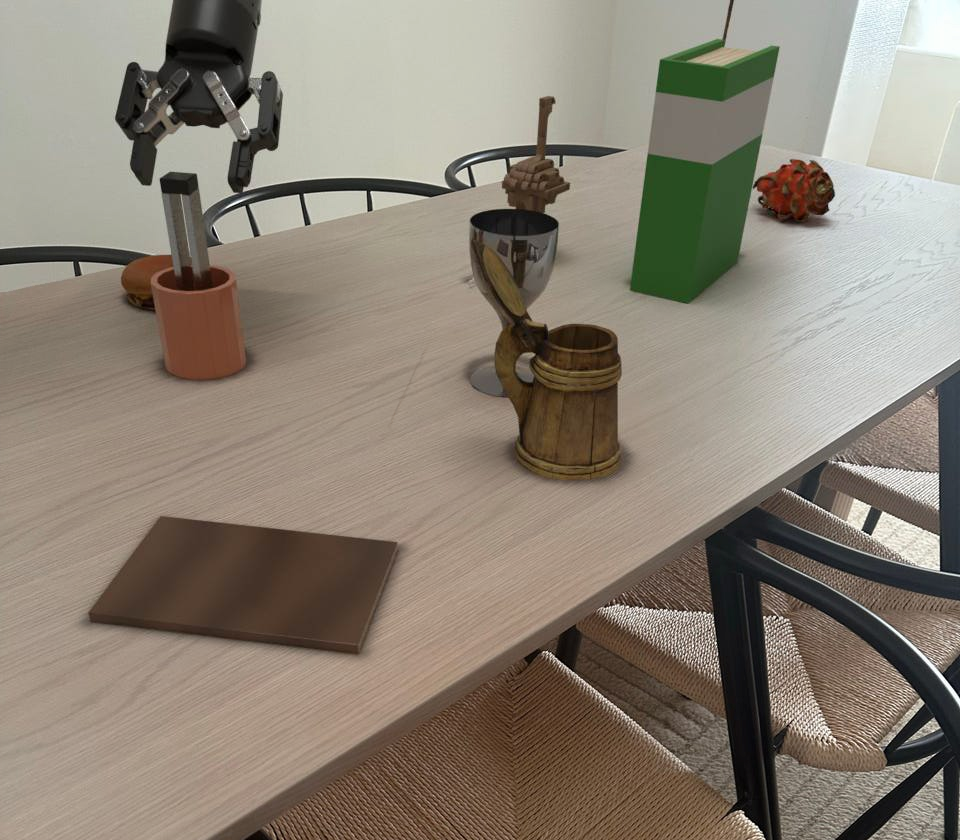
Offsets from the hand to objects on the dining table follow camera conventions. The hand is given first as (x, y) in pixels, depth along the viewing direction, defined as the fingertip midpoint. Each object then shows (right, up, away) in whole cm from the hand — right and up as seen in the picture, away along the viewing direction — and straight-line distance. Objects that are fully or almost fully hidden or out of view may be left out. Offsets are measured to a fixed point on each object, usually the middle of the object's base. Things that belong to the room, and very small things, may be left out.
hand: (188, 184), depth 88 cm
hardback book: (+51, +5, +35) cm, 62 cm away
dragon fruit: (+70, +20, +55) cm, 91 cm away
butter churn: (+60, +33, +70) cm, 98 cm away
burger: (-8, -3, +22) cm, 24 cm away
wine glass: (+28, -15, +9) cm, 34 cm away
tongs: (-1, -13, +8) cm, 16 cm away
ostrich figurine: (+29, +5, +34) cm, 45 cm away
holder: (-1, -14, +9) cm, 17 cm away
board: (+10, -37, -19) cm, 43 cm away
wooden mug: (+31, -25, -3) cm, 40 cm away
